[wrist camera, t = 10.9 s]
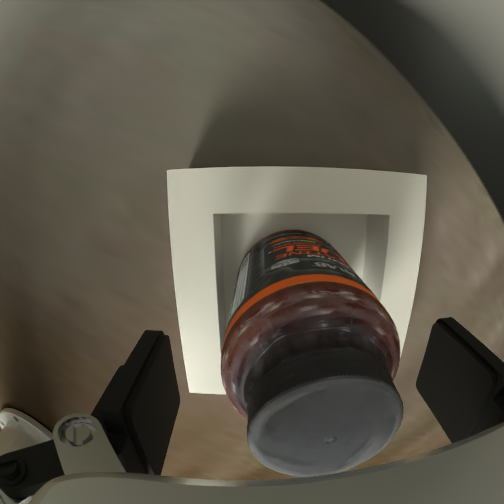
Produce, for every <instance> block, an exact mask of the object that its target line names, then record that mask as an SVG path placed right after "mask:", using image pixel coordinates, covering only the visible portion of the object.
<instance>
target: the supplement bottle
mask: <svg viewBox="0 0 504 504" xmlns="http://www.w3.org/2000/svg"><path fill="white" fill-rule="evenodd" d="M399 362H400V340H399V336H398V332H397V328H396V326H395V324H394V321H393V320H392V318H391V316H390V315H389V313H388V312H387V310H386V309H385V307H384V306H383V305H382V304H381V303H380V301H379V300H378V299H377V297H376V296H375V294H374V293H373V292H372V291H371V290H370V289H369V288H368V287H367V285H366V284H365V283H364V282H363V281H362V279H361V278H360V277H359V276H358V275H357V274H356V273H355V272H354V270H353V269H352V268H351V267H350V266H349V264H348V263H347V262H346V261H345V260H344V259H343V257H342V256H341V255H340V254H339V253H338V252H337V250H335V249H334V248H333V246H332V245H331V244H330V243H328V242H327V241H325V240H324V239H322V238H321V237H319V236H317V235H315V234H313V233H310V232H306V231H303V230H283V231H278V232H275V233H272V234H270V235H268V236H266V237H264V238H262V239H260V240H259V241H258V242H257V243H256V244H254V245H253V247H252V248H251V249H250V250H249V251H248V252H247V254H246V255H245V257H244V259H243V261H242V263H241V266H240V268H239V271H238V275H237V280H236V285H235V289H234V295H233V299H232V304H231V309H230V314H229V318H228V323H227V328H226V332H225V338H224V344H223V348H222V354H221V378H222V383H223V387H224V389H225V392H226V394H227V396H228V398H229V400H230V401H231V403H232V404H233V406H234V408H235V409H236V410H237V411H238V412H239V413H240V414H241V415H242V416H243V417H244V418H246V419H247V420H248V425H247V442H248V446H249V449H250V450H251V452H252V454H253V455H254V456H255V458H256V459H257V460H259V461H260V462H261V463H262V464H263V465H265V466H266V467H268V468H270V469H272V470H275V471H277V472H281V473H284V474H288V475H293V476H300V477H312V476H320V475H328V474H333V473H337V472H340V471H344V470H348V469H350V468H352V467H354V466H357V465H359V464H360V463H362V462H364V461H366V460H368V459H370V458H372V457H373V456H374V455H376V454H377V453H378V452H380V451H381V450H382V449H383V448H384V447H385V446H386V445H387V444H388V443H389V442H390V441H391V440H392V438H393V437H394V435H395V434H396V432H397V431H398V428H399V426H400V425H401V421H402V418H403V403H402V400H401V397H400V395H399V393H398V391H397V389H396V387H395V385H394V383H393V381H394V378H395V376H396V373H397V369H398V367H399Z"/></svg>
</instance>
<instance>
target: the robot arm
mask: <svg viewBox="0 0 504 504" xmlns="http://www.w3.org/2000/svg"><path fill="white" fill-rule="evenodd" d="M416 387H417V390H418V391H419V393H420V394H421V396H422V397H423V399H424V400H425V402H426V403H427V405H428V407H429V408H430V410H431V411H432V413H433V414H434V416H435V417H436V419H437V420H438V422H439V423H440V425H441V427H442V428H443V430H444V431H445V433H446V434H447V436H448V438H449V439H450V441H451V442H452V444H450V445H447V446H444V447H441V448H438V449H435V450H432V451H429V452H426V453H423V454H420V455H416V456H413V457H409V458H406V459H402V460H398V461H395V462H391V463H386V464H382V465H378V466H373V467H369V468H364V469H358V470H353V471H347V472H341V473H335V474H328V475H320V476H312V477H302V478H290V479H273V480H211V479H194V478H182V477H172V476H161V472H162V468H163V464H164V460H165V456H166V453H167V449H168V445H169V442H170V438H171V434H172V430H173V427H174V423H175V420H176V416H177V412H178V409H179V405H180V395H179V390H178V385H177V380H176V374H175V369H174V363H173V357H172V351H171V345H170V339H169V336H168V335H164V333H163V331H154V330H145V332H144V333H143V335H142V336H141V338H140V340H139V341H138V343H137V344H136V346H135V348H134V349H133V351H132V353H131V354H130V356H129V358H128V359H127V361H126V363H125V364H124V365H122V366H120V367H119V368H118V370H117V372H116V373H115V375H114V376H113V378H112V380H111V381H110V383H109V385H108V386H107V388H106V390H105V391H104V393H103V395H102V397H101V398H100V400H99V402H98V403H97V405H96V407H95V408H94V410H93V412H92V414H91V415H89V414H85V413H75V414H70V415H68V416H65V417H63V418H62V419H61V420H59V421H58V422H57V424H56V425H55V426H54V429H53V434H52V433H51V432H50V431H49V430H48V429H46V428H45V427H44V426H43V425H41V424H40V423H39V422H37V421H36V420H34V419H33V418H31V417H30V416H28V415H26V414H24V413H23V412H20V411H18V410H16V409H12V408H4V409H3V410H2V411H1V412H0V426H1V428H2V431H1V432H0V504H504V362H502V361H501V360H500V359H499V358H498V357H497V356H496V355H495V354H494V353H493V352H491V351H490V350H489V349H488V348H487V347H486V346H485V345H484V344H483V343H481V342H480V341H479V340H478V339H477V338H476V337H475V336H473V335H472V334H471V333H470V332H469V331H468V330H466V329H465V328H464V327H463V326H462V325H461V324H459V323H458V322H457V321H456V320H455V319H453V318H452V317H448V318H441V319H438V320H437V321H436V323H435V324H433V326H432V329H431V333H430V337H429V341H428V345H427V348H426V352H425V355H424V359H423V362H422V365H421V368H420V371H419V375H418V378H417V381H416Z"/></svg>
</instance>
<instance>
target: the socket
mask: <svg viewBox="0 0 504 504" xmlns="http://www.w3.org/2000/svg"><path fill="white" fill-rule="evenodd" d="M426 189H427V175H421V174H412V173H401V172H390V171H378V170H364V169H347V168H325V167H282V166H256V167H213V168H191V169H174V170H167V190H168V210H169V226H170V240H171V253H172V264H173V275H174V285H175V294H176V303H177V312H178V320H179V327H180V335H181V342H182V349H183V356H184V362H185V369H186V375H187V381H188V387H189V392H190V393H205V394H226V392H225V389H224V387H223V383H222V378H221V354H222V348H223V344H224V338H225V332H226V328H227V323H228V318H229V314H230V309H231V304H232V299H233V295H234V289H235V285H236V280H237V275H238V271H239V268H240V266H241V263H242V261H243V259H244V257H245V255H246V254H247V252H248V251H249V250H250V249H251V248H252V247H253V245H254V244H256V243H257V242H258V241H259V240H260V239H262V238H264V237H266V236H268V235H270V234H272V233H275V232H278V231H283V230H303V231H306V232H310V233H313V234H315V235H317V236H319V237H321V238H322V239H324V240H325V241H327V242H328V243H330V244H331V245H332V246H333V248H334V249H335V250H337V252H338V253H339V254H340V255H341V256H342V257H343V259H344V260H345V261H346V262H347V263H348V264H349V266H350V267H351V268H352V269H353V270H354V272H355V273H356V274H357V275H358V276H359V277H360V278H361V279H362V281H363V282H364V283H365V284H366V285H367V287H368V288H369V289H370V290H371V291H372V292H373V293H374V294H375V296H376V297H377V299H378V300H379V301H380V303H381V304H382V305H383V306H384V307H385V309H386V310H387V312H388V313H389V315H390V316H391V318H392V320H393V321H394V324H395V326H396V328H397V332H398V336H399V340H400V357H401V353H402V349H403V345H404V341H405V337H406V333H407V329H408V324H409V320H410V315H411V310H412V305H413V300H414V295H415V289H416V283H417V277H418V271H419V264H420V256H421V249H422V240H423V231H424V220H425V207H426Z"/></svg>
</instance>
